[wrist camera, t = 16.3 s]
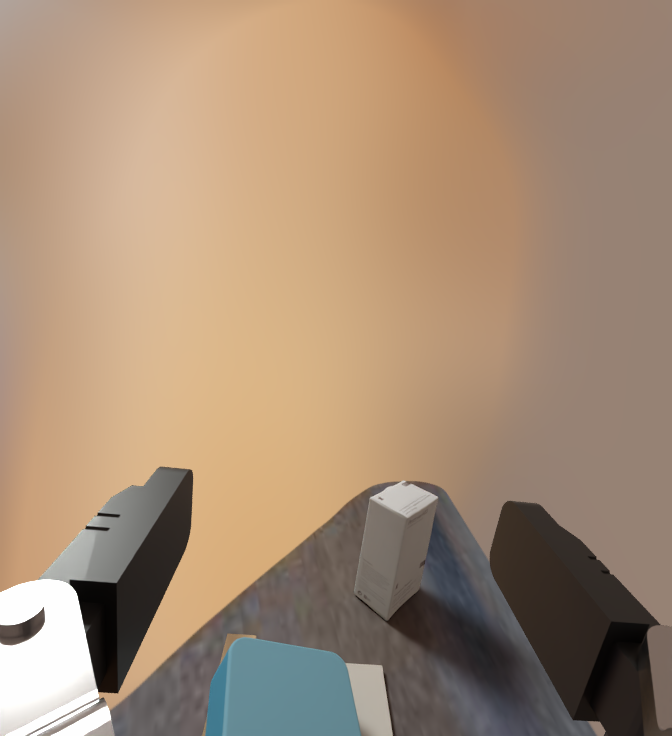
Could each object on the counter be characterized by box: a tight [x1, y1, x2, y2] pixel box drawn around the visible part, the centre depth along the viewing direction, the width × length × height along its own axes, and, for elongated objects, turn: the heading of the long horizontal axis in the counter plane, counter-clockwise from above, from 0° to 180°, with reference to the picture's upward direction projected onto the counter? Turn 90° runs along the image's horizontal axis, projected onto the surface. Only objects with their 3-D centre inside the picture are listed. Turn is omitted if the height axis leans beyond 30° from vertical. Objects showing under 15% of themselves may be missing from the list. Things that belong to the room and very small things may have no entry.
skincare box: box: [354, 481, 438, 621], centre depth 52 cm, size 8×6×15 cm
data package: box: [205, 637, 361, 736], centre depth 32 cm, size 12×4×12 cm
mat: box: [345, 663, 393, 736], centre depth 38 cm, size 14×10×1 cm
